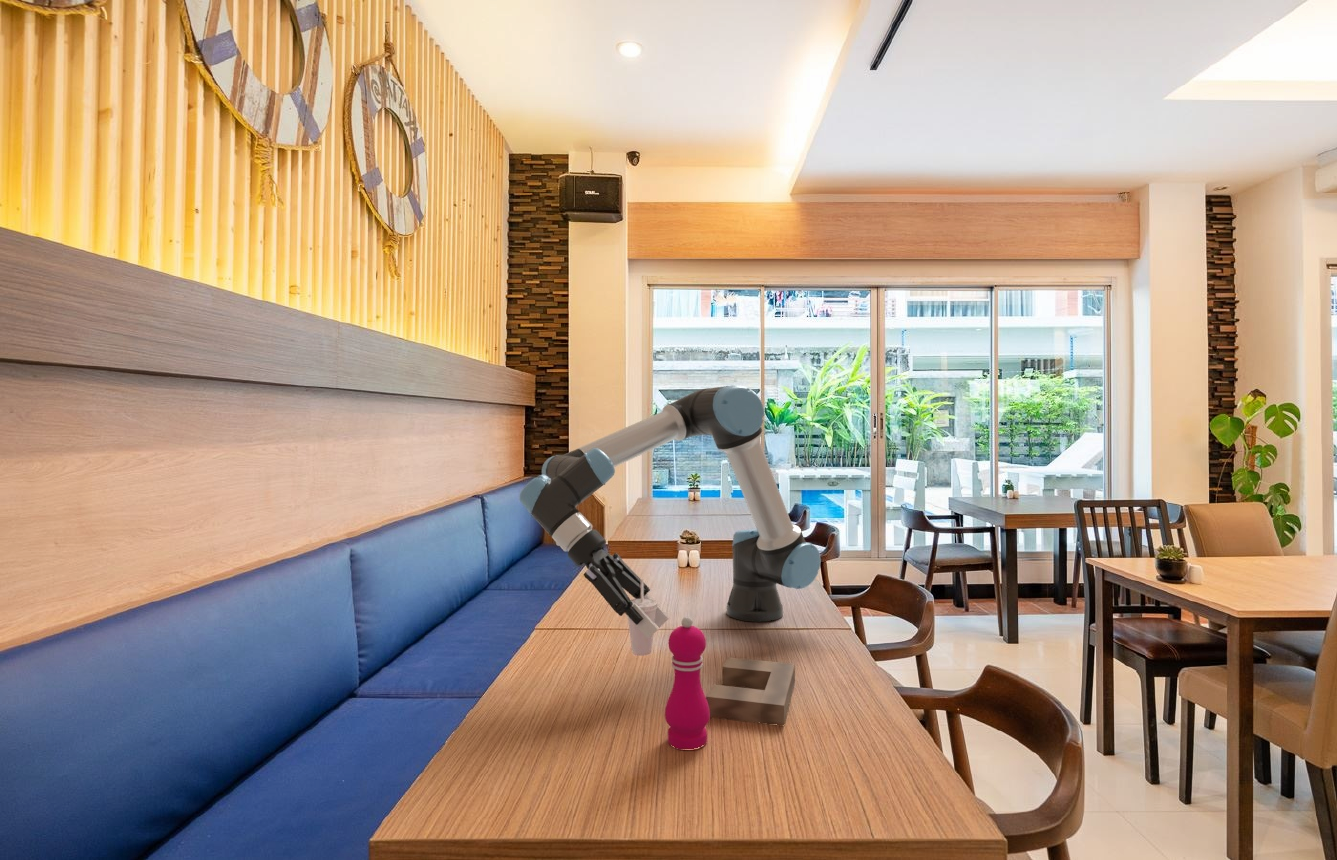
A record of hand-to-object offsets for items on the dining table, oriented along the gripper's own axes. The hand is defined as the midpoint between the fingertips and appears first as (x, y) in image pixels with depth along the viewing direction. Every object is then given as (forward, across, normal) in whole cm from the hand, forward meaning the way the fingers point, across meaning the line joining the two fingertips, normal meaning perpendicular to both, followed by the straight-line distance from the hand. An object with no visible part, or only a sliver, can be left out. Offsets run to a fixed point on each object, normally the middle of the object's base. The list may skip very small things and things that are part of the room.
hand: (659, 628), depth 123 cm
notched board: (+21, -1, +4) cm, 22 cm away
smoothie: (+1, 0, -6) cm, 6 cm away
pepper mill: (+16, +19, -1) cm, 24 cm away
